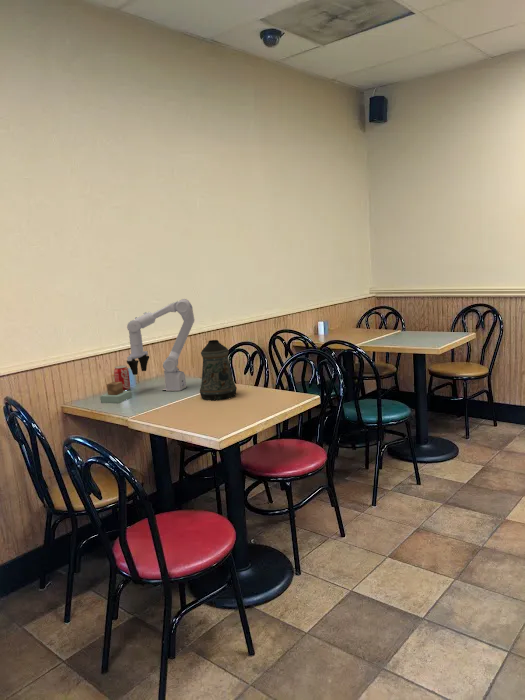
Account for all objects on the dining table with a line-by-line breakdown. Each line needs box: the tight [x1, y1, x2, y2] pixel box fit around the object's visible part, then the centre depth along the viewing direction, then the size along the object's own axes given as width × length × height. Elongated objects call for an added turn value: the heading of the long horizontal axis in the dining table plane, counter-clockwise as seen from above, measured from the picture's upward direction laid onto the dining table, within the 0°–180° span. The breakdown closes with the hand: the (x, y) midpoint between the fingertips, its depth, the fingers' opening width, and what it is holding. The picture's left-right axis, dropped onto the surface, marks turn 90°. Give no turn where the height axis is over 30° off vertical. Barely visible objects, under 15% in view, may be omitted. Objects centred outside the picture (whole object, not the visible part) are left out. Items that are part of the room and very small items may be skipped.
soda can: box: [113, 364, 131, 391], centre depth 274 cm, size 7×7×12 cm
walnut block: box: [106, 381, 123, 395], centre depth 255 cm, size 5×5×5 cm
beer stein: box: [199, 339, 238, 402], centre depth 248 cm, size 16×19×25 cm
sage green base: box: [99, 390, 133, 404], centre depth 256 cm, size 10×10×3 cm
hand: (139, 372), depth 267 cm, fingers open, 7 cm apart
